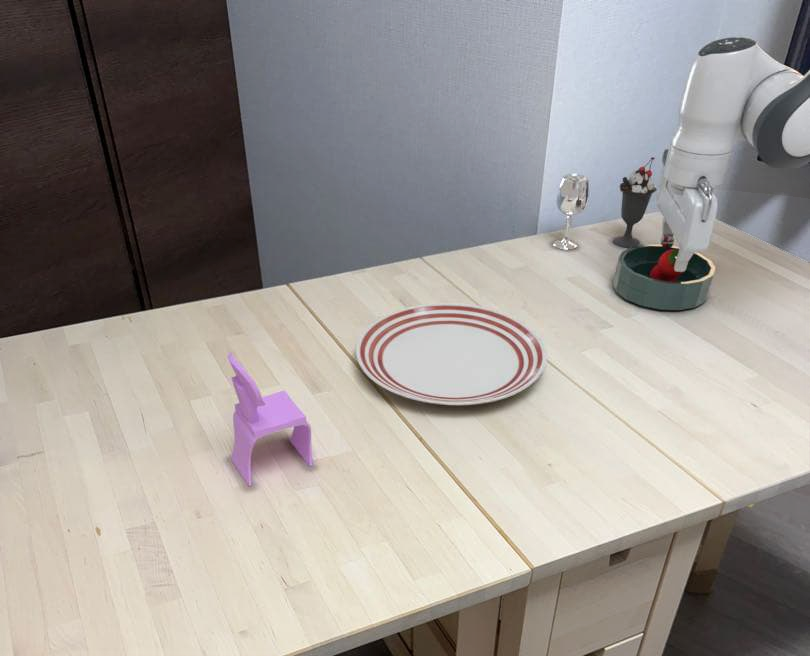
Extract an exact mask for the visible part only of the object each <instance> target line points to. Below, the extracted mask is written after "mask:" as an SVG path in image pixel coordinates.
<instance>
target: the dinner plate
mask: <svg viewBox="0 0 810 656" xmlns="http://www.w3.org/2000/svg"><path fill="white" fill-rule="evenodd" d="M355 355H356V360H357V362H358V365H359V367H360V368H361V370H362V372H363V373H364V374H365V376H367V377H368V378H369V379H370V380H372V381H373V382H374V383H375V384H377V385H378V386H380V387H381V388H383V389H385V390H387V391H388V392H391V393H393V394H395V395H396V396H397V395H398V396H401V397H403V398H406V399H409V400H414V401H417V402H422V403H426V404H427V403H428V404H434V405H442V406H443V405H444V406H471V405H472V406H474V405H482V404H483V405H484V404H489V403H493V402H497V401H501V400H504V399H507V398H509V397H513V396H515V395H517V394H519V393H521V392H523V391H524V390H526V389H528V388H529V387H531V386H532V385H533V384H534V383H535V382H536V381H537V380H539V378H540V377H541V376H542V374H543V372H544V370H545V368H546V366H547V363H548V351H547V347H546V345H545V343H544V341H543V340H542V338H541V337H540V336H539V334H538V333H537V332H536V331H535V330H534V329H533V328H532V327H530V326H529V325H528V324H526V323H525V322H524V321H522V320H520V319H519V318H516V317H515V316H513V315H511V314H508V313H506V312H503V311H501V310H498V309H494V308H490V307H487V306H482V305H477V304H471V303H462V302H461V303H460V302H434V303H432V302H431V303H424V304H417V305H411V306H408V307H404V308H400V309H397V310H394V311H391V312H390V313H389V312H388V313H386V314H385V315H383V316H381V317H379V318H377V319H375V320H374V321H373V322H371V323H370V324H368V326H366V328H365V329H364V330H363V331H362V333H361V334H360V335H359V337H358V339H357V342H356V348H355Z"/></svg>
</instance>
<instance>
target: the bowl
mask: <svg viewBox="0 0 810 656" xmlns="http://www.w3.org/2000/svg"><path fill="white" fill-rule="evenodd" d="M672 249H676V250H679V246H675V245H673V246H672V247H663V246H662V244H654V243H653V244H649V243H648V244H641V245H640V244H639V245H638V246H634V247H631V248H627V249H625V250H623V251H621V253H620V254H619V256H618V258H617V262H616V267H615V272H614V277H613V281H612V284H613V288H614V290H615V292H616V293H617V294H618V295H619V296H621V298H624V299H625V300H626V301H628V302H631V303H634V304H636V305H638V306H641V307H645V308H649V309H650V308H651V309H656V310H661V311H682V310H688V309H693V308H696V307H699V306H700V305H702V304H703V303H705V302H706V301H707V299H708V296H709V293H710V289H711V286H712V283H713V280H714V277H715V273H716V270H717V267H716V266H715V264H714V263H713V261H712V260H711V259H709V258H708V257H706V256H705V255H703V254H701V253H694V254H693V255H692V257H691V258H690V260H689V261H688V264H687V267H686V270H685V271H683V272H682V274H680V275H679V276H677V278H676V281H675V282H670V281H663V280H657V279H652V278H650V273H651V271H652V269H653V268H654V267H655V266H656V265H658V261H659V259H660V257H661V255H662V254H663V253H665V252H666V251H668V250H672Z"/></svg>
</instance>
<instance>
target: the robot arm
mask: <svg viewBox="0 0 810 656" xmlns="http://www.w3.org/2000/svg"><path fill="white" fill-rule="evenodd" d="M677 123H678V124H677V127H676V130H675V133H674V134H673V137H672V138H671V141H670V146H668V147H664V148H663V151H662V155H661V164H662V168H661V173H660V178H659V185H658V189H657V198H656V199H657V204H656V205H657V208H658V210H659V211H660V213H661V215H662V228H661V237H660V245H662V246H663V247H672V246H674V242H675V240H676V242H677V244H678V245H679V246H678V247H679V253H678V255H677V257H675V259H674V263H673V268H674V270H675V271H676V272H683V271H685V270H686V267H687V264H688V261H689V260H690V258H691V257H692V255H693V254H694V253H699V254H701V253H705V252H706V250H708V248H709V246H710V243H711V239H712V235H713V231H714V226H715V222H716V218H717V213H718V199H717V197H716V196H715V195H714V188H717V187H719V186H722V185H723V183H724V180H725V177H726V174H727V171H728V166H729V164H730V160H731V156H732V153H733V149H734V146H735V145H736V144H737V143H738V142H748V143H749V144H750V145H751V146H752V147H753V148H754V150H755V151H756V153H757V154H758V156H759V158H760V159H761V161H762V162H763V164H765V165H766V166H768V167H770V168H772V169H773V170H781V171H789V170H794V169H798V168H801V167H803V166H805V165H808V164H809V163H810V69H809V70H808V71H807V72H806V73H805V74H804V75H803V74H801V73H800V72H799V71H797V70H795V69H794V68H791V67H789V66H787V65H785V64H782V63H781V62H779V61H777V60H776V59H774V58H772V57H771V56H770V55H769V54H767V53H766V52H765V51H764V50H763V49H762V48H761V47H760V46H759V45H758V42H757V41H756V40H755V39H752V38H750V37H745V36H744V37H743V36H741V37H736V36H732V37H725V38H720V39H717V40H714V41H711V42H709V43H708V44H706V45H704V46H703V47H702V48H700V50H699V51H698V52H697V54H696V56H695V58H694V59H693V62H692V64H691V67H690V70H689V73H688V74H687V79H686V81H685V85H684V87H683V92H682V96H681V100H680V103H679V108H678V122H677Z"/></svg>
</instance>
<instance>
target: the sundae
mask: <svg viewBox="0 0 810 656" xmlns="http://www.w3.org/2000/svg"><path fill="white" fill-rule="evenodd" d="M655 159H656V158H655V156H654V157H653V156H652V157H650V160H649V161H648V162H647V163H646V164H645V165H644V166H640V167H639V168H638V169H637V170H634V171H633V172H631V174H630V175H629V176H628V177H627V176H624V177H622V182H621V183H620V184H619V190H620V192H621V193H622V197H621V207H620V209H621V210H620V211H621V213H620V215H621V219H622V221H623V222H624V223H625V224H626V228H625V232H624V234H623V235H622V236H617V237H615V238H614V239H613V240H612V241H613V243H614V244H615V246H618V247H621V248H627V249H629V248H631V247H634V246H640V240H638V239H637V238H635V237H633V227H634V225H636V224H638V223H639V222H640V221H641V220H643V218H644V216H645V213H646V211H647V208H648V205H649V203H650V200H651V198H652V195H653V193H655V192H657V191H658V189H657V187H655V182H654V179H653V178H652V175H653V172H652V170H651V167H652V163H653V161H654V160H655ZM649 163H650V164H649ZM648 165H649V169H648V170H646V167H647V166H648Z"/></svg>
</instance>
